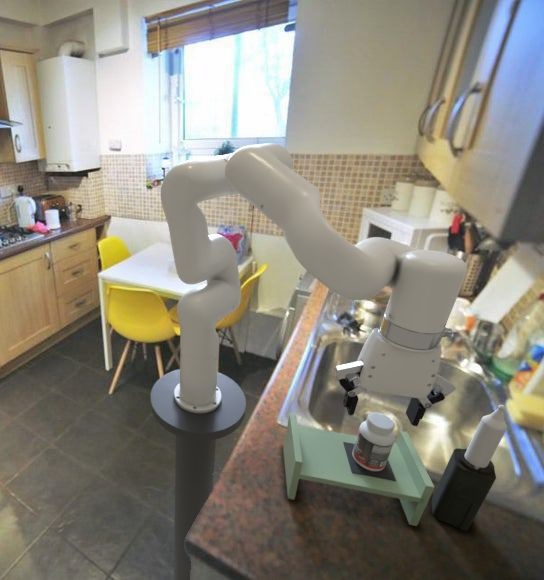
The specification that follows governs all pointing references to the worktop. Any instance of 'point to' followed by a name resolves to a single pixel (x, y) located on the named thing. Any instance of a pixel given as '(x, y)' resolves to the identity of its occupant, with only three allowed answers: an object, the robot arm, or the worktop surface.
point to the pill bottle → (374, 442)
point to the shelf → (356, 467)
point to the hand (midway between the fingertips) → (379, 414)
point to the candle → (469, 474)
